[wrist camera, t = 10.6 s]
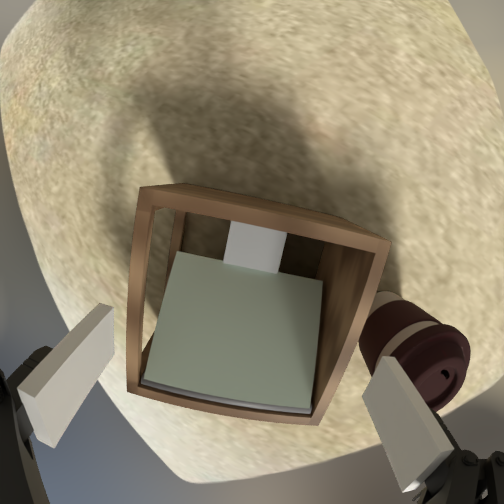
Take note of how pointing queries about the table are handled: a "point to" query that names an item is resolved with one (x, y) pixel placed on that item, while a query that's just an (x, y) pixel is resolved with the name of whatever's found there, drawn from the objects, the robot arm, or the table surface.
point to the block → (254, 247)
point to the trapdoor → (236, 335)
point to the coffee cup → (416, 347)
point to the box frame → (329, 271)
